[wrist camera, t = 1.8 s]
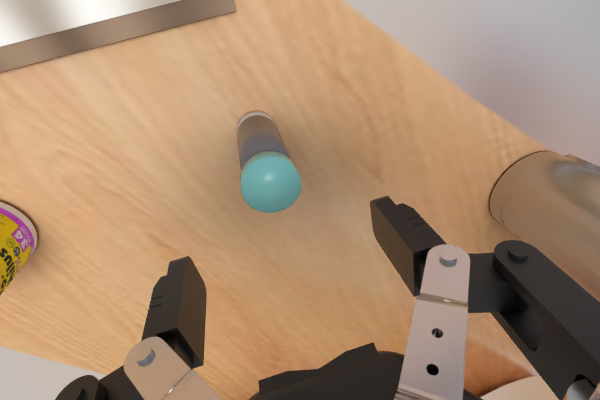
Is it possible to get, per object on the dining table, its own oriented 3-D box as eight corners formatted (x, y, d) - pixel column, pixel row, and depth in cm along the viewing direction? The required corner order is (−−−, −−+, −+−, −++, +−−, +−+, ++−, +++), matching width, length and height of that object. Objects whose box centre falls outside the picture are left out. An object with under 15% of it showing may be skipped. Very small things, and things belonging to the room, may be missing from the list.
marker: (271, 104, 26) (293, 152, 18) (281, 142, 28) (306, 203, 19) (229, 115, 26) (232, 169, 17) (242, 154, 28) (251, 219, 19)
